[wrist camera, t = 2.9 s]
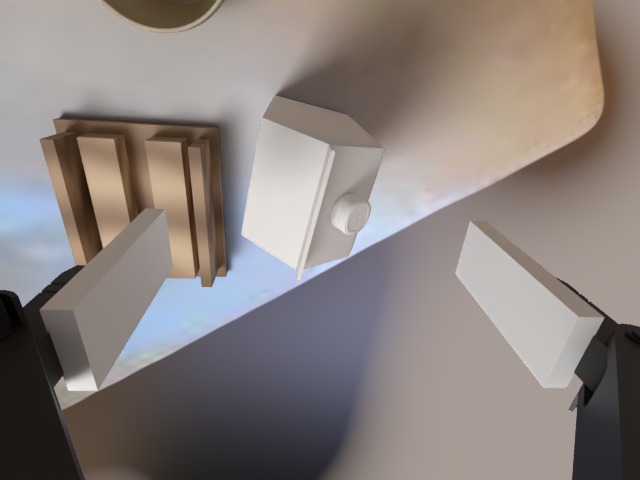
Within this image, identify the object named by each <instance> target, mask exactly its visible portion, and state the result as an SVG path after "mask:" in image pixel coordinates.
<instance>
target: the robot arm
mask: <svg viewBox="0 0 640 480" xmlns="http://www.w3.org/2000/svg"><path fill="white" fill-rule="evenodd" d="M172 267H173V263H172V256H171V249H170V242H169V234H168V227H167V220H166V213H165V209H149V208H145V209H144V210H143V211H142V212H141V213H140V214H139V215H138V216H137V217H136V218H135V219H134V220H133V221H132V222H131V223H130V224H129V225H128V226H127V227H126V228H125V229H123V230H122V231H121V232H120V233H119V234H118V235H117V236H116V237H115V238H114V239H113V240H112V241H111V242H110V243H109V244H108V245H107V246H106V247H105V248H104V249H103V250H101V251H100V252H99V253H98V254H97V255H96V256H95V257H94V258H93V259H92V260H91V261H90V262H89V263H88V264H87V265H77V266H75V267H73V268H71V269H69V270H67V271H65V272H63V273H61V274H60V275H59V276H58V277H57V278H56V279H55V280H53V281H52V282H51V285H48V286H47V287H46V288H44V289H43V290H42V293H39V294H38V295H37V296H35V297H34V298H33V299H32V300H31V301H30V302H29V303H28V304H26V305H25V306H24V307H23V308H22V305H21V303H20V300H19V297H18V296H17V295H16V294H15V293H14V292H11V291H7V290H0V480H85V478H84V475H83V472H82V469H81V466H80V463H79V460H78V457H77V455H76V452H75V449H74V446H73V443H72V440H71V437H70V434H69V431H68V428H67V425H66V422H65V419H64V416H63V413H62V410H61V408H60V405H59V402H58V399H57V396H56V393H55V391H54V386H55V385H56V384H57V382H58V381H59V380H60V378H61V377H62V376H63V377H64V380H65V383H66V385H67V388H68V391H86V390H98V389H99V388H100V386H101V384H102V383H103V381H104V379H105V378H106V376H107V374H108V373H109V371H110V369H111V368H112V366H113V365H114V363H115V361H116V360H117V358H118V356H119V355H120V353H121V351H122V350H123V348H124V346H125V345H126V343H127V341H128V340H129V338H130V337H131V335H132V333H133V332H134V330H135V328H136V327H137V325H138V323H139V322H140V320H141V318H142V317H143V315H144V314H145V312H146V310H147V309H148V307H149V305H150V304H151V302H152V300H153V299H154V297H155V295H156V294H157V292H158V290H159V289H160V287H161V286H162V284H163V282H164V281H165V279H166V277H167V276H168V274H169V272H170V271H171V269H172ZM455 274H456V275H457V277H458V278H459V279H460V280H461V282H462V283H463V284H464V285H465V287H466V288H467V289H468V291H469V292H470V293H471V295H472V296H473V297H474V299H475V300H476V301H477V302H478V304H479V305H480V306H481V308H482V309H483V310H484V311H485V313H486V314H487V315H488V317H489V318H490V319H491V321H492V322H493V323H494V325H495V326H496V327H497V328H498V330H499V331H500V332H501V334H502V335H503V336H504V337H505V339H506V340H507V341H508V343H509V344H510V345H511V346H512V348H513V349H514V350H515V352H516V353H517V354H518V356H519V357H520V358H521V360H522V361H523V362H524V363H525V365H526V366H527V367H528V369H529V370H530V371H531V372H532V374H533V375H534V376H535V378H536V379H537V380H538V382H539V383H540V384H541V385H542V387H543V388H567V386H568V384H569V382H570V381H571V379H572V377H573V375H574V373H575V374H576V375H577V376H578V377H579V378H580V379H581V380H582V381H583V385H582V387H581V388H580V390H579V392H578V393H577V395H576V397H575V399H574V400H573V402H572V404H571V406H570V408H569V410H571V411H573V410H574V409H575V407H577V420H576V433H575V447H574V461H573V475H572V480H640V327H638V326H634V325H630V324H629V325H628V324H617V323H616V322H615V321H614V320H613V319H611V318H610V317H609V316H608V315H606V314H605V313H604V312H603V311H601V310H600V309H599V308H597V307H596V306H595V305H594V304H592V303H591V302H588V300H587V299H586V298H585V297H584V296H582V295H581V294H579V293H578V292H577V291H576V290H575V289H574V288H572V287H571V286H570V285H569V284H567V283H565V282H564V281H561V280H560V279H558V278H556V277H554V276H553V275H552V274H550V273H549V272H548V271H547V270H546V269H544V268H543V267H542V266H541V265H539V264H538V263H537V262H536V261H534V260H533V259H532V258H531V257H530V256H528V255H527V254H526V253H525V252H523V251H522V250H521V249H520V248H518V247H517V246H516V245H515V244H514V243H512V242H511V241H510V240H508V239H507V238H506V237H505V236H504V235H502V234H501V233H500V232H499V231H498V230H496V229H495V228H494V227H493V226H491V225H490V224H489V223H488V222H485V221H482V222H481V221H470V224H469V227H468V230H467V234H466V237H465V241H464V245H463V248H462V252H461V255H460V259H459V262H458V266H457V269H456V273H455Z"/></svg>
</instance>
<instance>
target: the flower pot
mask: <svg viewBox="0 0 640 480" xmlns="http://www.w3.org/2000/svg"><path fill="white" fill-rule="evenodd" d="M99 1H100V2H101V3H102V4H103V5H104V6H105V7H106V8H107V9H109V10H110V11H111V12H112V13H114V14H115V15H116V16H118V17H119V18H121V19H122V20H124V21H126V22H127V23H129V24H131V25H134V26H136V27H138V28H141V29H144V30H148V31H152V32H159V33H175V32H182V31H186V30H189V29H192V28H195V27H197V26H199V25H201V24H202V23H204V22H205V21H207V20H208V19H209V18H210V17H211V16H213V15H214V14H215V12H216V11H217V10H218V9H219V8H220V6H221V5H222V3H223V1H224V0H99Z"/></svg>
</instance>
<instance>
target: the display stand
mask: <svg viewBox="0 0 640 480" xmlns="http://www.w3.org/2000/svg"><path fill="white" fill-rule="evenodd" d="M53 121H54V125H55V129H56V133H57V134H56V135H52V136H49V137H46V138H42V139H40V142H41V146H42V149H43V153H44V156H45V160H46V163H47V167H48V170H49V174H50V177H51V181H52V184H53V187H54V191H55V194H56V198H57V201H58V205H59V208H60V212H61V215H62V219H63V222H64V226H65V229H66V233H67V236H68V240H69V243H70V247H71V250H72V254H73V257H74V261H75V264H76V266H77V265H87V264H88V263H89V262H90V261H91V260H92V259H93V258H94V257H95V256H96V255H97V254H98V253H99V252H100V251H101V250H103V249H104V248H105V247H106V246H107V245H108V244H109V243H110V242H111V241H112V240H113V239H114V238H115V237H116V236H117V235H118V234H119V233H120V232H121V231H122V230H123V229H125V228H126V227H127V226H128V225H129V224H130V223H131V222H132V221H133V220H134V219H135V218H136V217H137V216H138V215H139V214H140V213H141V212H142V211H143V210H144V209H145V208H149V209H165V213H166V220H167V227H168V234H169V242H170V249H171V256H172V263H173V267H172V269H171V271H170V272H169V274H168V276H167V277H166V278H196V276H201V283H202V287H212V285H213V283H214V280H215V277H216V276H218V277H226V275H227V258H226V241H225V224H224V208H223V191H222V175H221V158H220V141H219V127H210V126H193V125H175V124H158V123H141V122H124V121H107V120H90V119H72V118H57V119H53Z"/></svg>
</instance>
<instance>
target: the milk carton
mask: <svg viewBox="0 0 640 480" xmlns="http://www.w3.org/2000/svg"><path fill="white" fill-rule="evenodd" d="M383 154H384V148H383V147H382V146H381V145H380V144H379V143H378V142H377V141H376V140H374V139H373V138H372V137H371V136H370V135H369V134H368V133H367V132H366V131H365V130H364V129H363V128H362V127H360V126H359V125H358V124H357V123H356V122H355V121H354V120H353V119H352V118H351V117H350V116H349V115H347V114H343V113H339V112H335V111H332V110H328V109H324V108H321V107H317V106H313V105H309V104H306V103H302V102H298V101H294V100H291V99H287V98H283V97H280V96H274V98H273V99H272V101H271V103H270V105H269V107H268V108H267V110H266V112H265V114H264V116H263V118H262V120H261V123H260V128H259V134H258V140H257V145H256V151H255V157H254V162H253V168H252V174H251V179H250V185H249V191H248V197H247V202H246V208H245V214H244V219H243V225H242V236H244V237H245V238H247V239H249V240H250V241H252V242H253V243H255V244H256V245H258V246H259V247H261V248H263V249H264V250H266V251H267V252H269V253H270V254H272V255H273V256H275V257H277V258H278V259H280V260H281V261H283V262H284V263H286V264H287V265H289V266H291V267H292V268H294V269H295V270H296V280H298V281H299V280H300V279H301V276H302V272H303V269H306V268H310V267H313V266H317V265H320V264H324V263H327V262H330V261H334V260H337V259H341V258H344V257H347V256H349V254H350V252H351V250H352V247H353V244H354V241H355V238H356V235H357V232H359V231H360V230H361V229H362V228H363V227H364V226H365V224H366V222H367V220H368V218H369V215H370V210H371V206H370V203H369V202H368V200H369V197H370V194H371V191H372V188H373V185H374V182H375V179H376V176H377V173H378V170H379V167H380V164H381V161H382V157H383Z"/></svg>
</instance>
